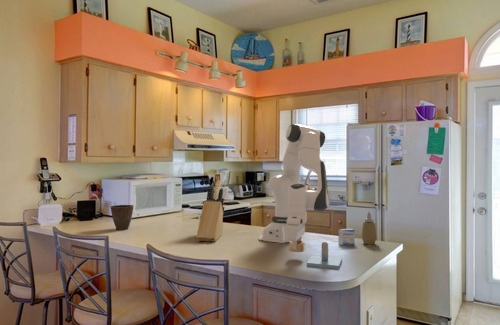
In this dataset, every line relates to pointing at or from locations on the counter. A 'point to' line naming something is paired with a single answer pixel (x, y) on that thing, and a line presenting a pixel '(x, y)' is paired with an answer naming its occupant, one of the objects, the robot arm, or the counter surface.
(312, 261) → the post base
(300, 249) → the copper ring
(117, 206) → the plant pot
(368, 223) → the squeeze bottle
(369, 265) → the counter surface
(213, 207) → the knife block
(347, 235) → the medicine box
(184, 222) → the counter surface
